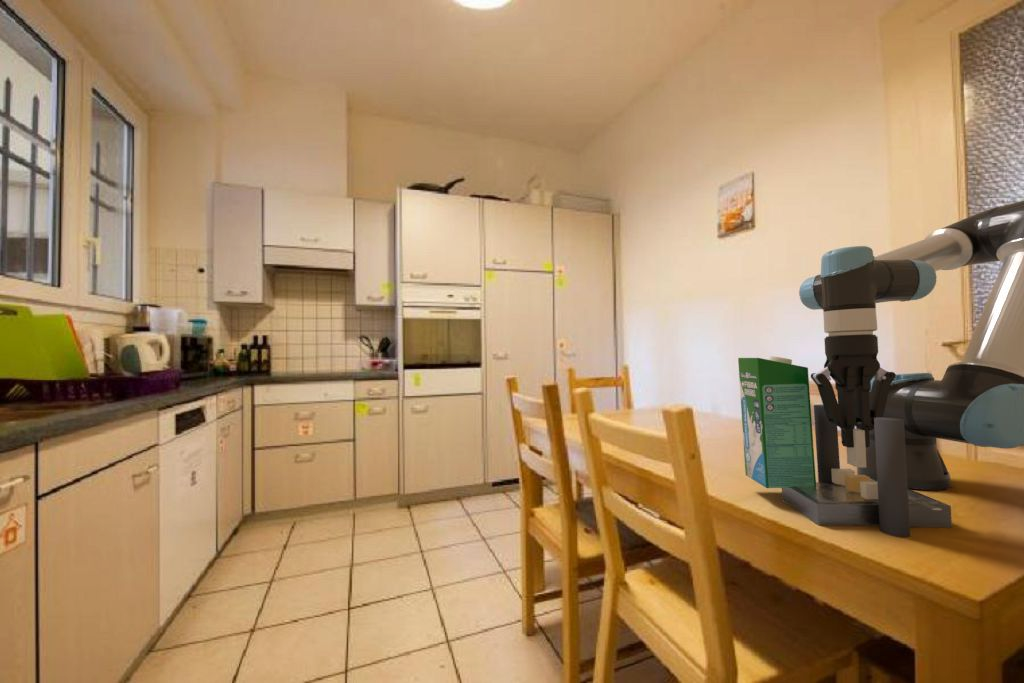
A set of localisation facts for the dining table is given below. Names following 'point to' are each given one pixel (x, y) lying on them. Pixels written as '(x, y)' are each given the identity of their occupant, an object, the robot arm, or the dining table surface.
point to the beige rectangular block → (869, 490)
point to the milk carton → (776, 422)
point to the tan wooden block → (855, 481)
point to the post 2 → (892, 476)
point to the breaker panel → (860, 506)
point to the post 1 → (825, 445)
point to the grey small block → (840, 475)
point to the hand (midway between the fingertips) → (856, 465)
